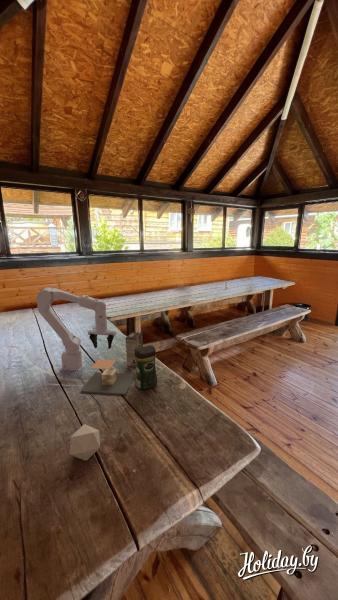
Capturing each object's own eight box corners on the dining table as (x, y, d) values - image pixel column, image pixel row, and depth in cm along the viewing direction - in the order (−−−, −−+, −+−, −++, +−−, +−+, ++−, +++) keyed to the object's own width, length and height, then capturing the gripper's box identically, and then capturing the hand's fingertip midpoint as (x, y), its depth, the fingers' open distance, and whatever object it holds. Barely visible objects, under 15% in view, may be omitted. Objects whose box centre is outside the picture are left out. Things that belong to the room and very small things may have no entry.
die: (82, 440, 81) (62, 429, 75) (106, 427, 81) (87, 415, 75) (82, 468, 75) (60, 459, 69) (108, 454, 74) (87, 444, 68)
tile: (91, 369, 126) (91, 368, 126) (98, 360, 136) (98, 359, 136) (109, 370, 125) (109, 369, 125) (116, 361, 135) (116, 360, 135)
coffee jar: (151, 377, 118) (151, 341, 114) (159, 385, 111) (159, 347, 107) (133, 383, 113) (131, 346, 109) (139, 392, 107) (138, 352, 102)
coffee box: (132, 358, 138) (131, 331, 134) (143, 359, 137) (142, 332, 133) (126, 366, 129) (125, 337, 125) (138, 367, 128) (137, 338, 124)
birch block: (102, 384, 111) (101, 374, 110) (106, 378, 116) (105, 369, 115) (113, 385, 110) (112, 375, 109) (116, 379, 115) (116, 369, 114)
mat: (80, 392, 106) (80, 390, 106) (95, 373, 122) (95, 372, 122) (125, 395, 104) (125, 393, 104) (134, 375, 120) (134, 374, 120)
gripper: (117, 321, 129) (118, 345, 132) (91, 320, 131) (93, 344, 134) (112, 325, 123) (114, 351, 126) (85, 324, 124) (87, 349, 127)
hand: (102, 347), depth 129 cm, fingers open, 7 cm apart
